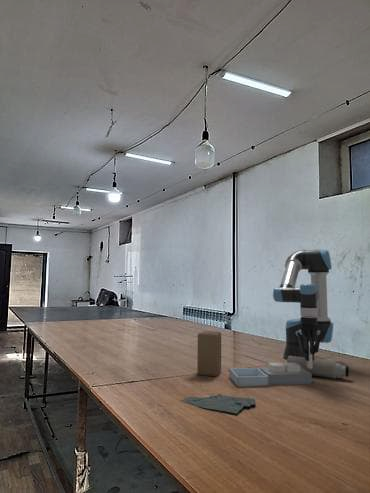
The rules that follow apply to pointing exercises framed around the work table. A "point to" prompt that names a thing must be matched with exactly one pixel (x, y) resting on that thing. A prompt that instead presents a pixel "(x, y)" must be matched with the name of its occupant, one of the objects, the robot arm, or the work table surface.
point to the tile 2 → (292, 367)
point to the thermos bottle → (322, 367)
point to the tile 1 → (276, 367)
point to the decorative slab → (222, 403)
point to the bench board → (288, 377)
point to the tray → (248, 377)
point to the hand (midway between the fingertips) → (309, 367)
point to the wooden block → (209, 353)
